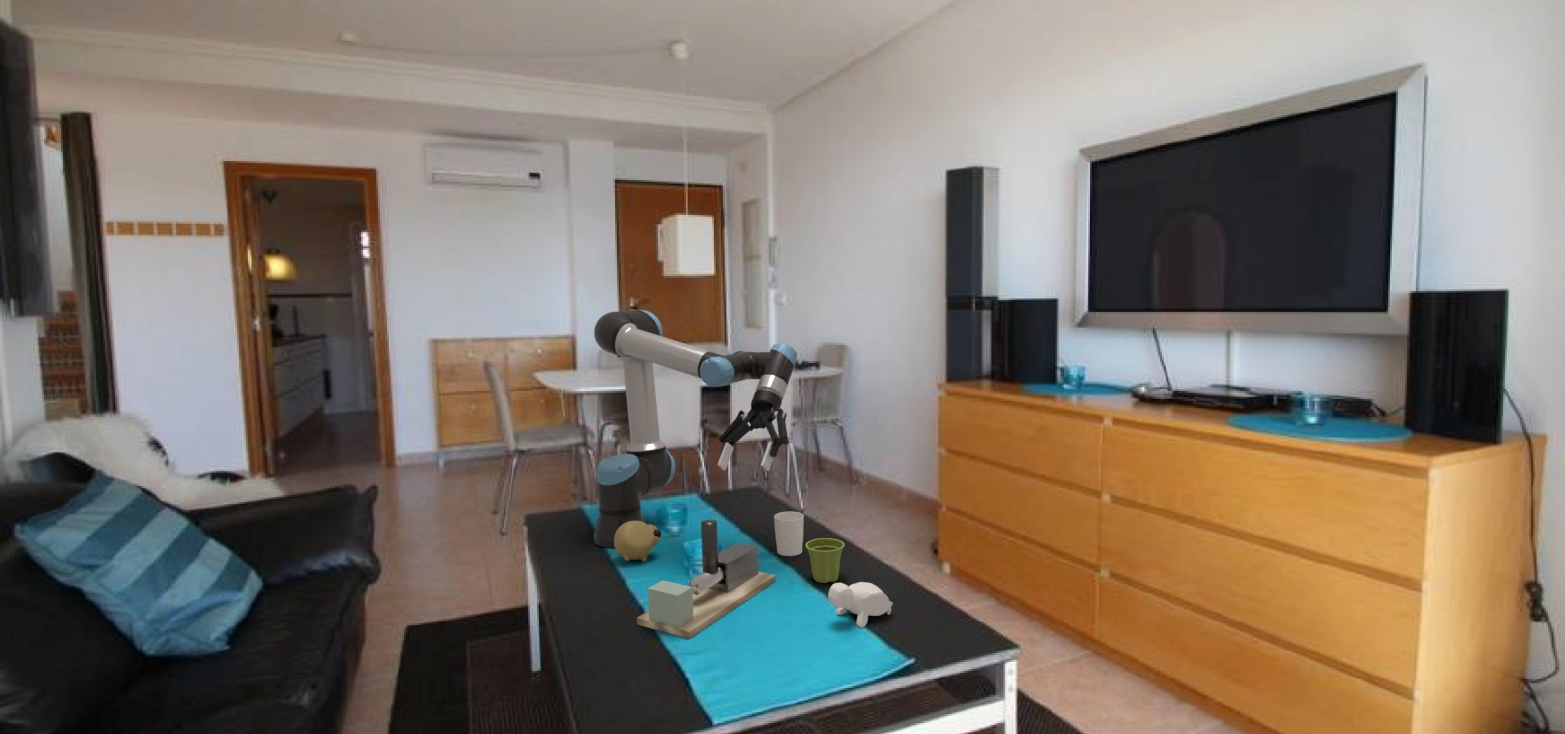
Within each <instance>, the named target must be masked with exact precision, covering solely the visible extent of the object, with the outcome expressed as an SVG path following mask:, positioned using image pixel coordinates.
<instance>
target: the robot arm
mask: <svg viewBox="0 0 1565 734" xmlns="http://www.w3.org/2000/svg"><path fill="white" fill-rule="evenodd" d="M663 333H664V332H663V327H662V324H661V322H660V320H659V318H658V317H657V316H656V315H655V314H654V313H652V312H650V311H649V310H645V309H631V310H622V311H610V312H607V313H605V314H602V316H601V317H599V318H598V320H597V321H596V324H595V326H594V331H593V334H594V335H593V337H594V339H595V342H596V345H598V347H600V349H602V351H605V352H607V353H610V354H611V355H616V356H617V357H616V358H617V359H618V360H619V361H621V362H622V364H623V366H622V367H623V374H624V384H625V386H624V387H625V396H626V405H627V417H628V426H629V436H630V437H629V438H630V444H629V445H628V446H627V447H626V453H621V454H620V453H619V454H617V455H612V456H609V457H606V458H604V459H602V460H601V461H600V462H599V463H598V465H597V468H596V470H597V474H596V481H597V482H596V483H597V497H598V518H597V521H596V525H595V530H594V532H593V542H594V544H595V545H597V546H599V547H602V548H612V549H614V548H615V546H614V537H615V533H616V531H617V529H618V528H619V527H620V526H621V525H622V524H624V523H626V522H629V521H642V522H644V523H646V522H645V519H644V516H643V513H642V509H641V507H642V505H641V504H642V503H641V497H642V496H644V495H648V494H649V493H652V492H655V491H658V490H660V489H662V488H663V487H665V486H667V485H669V483H671V481H672V480H673V478H674V476H675V472H676V462H675V459H674V456H673V455H671V452H670V451H668V450H667V447H666V446H667V445H666V443H664V441H662V440H661V437H660V436H661V435H660V428H659V427H660V426H659V425H660V424H659V416H658V414H659V413H658V406H657V405H658V404H657V394H656V384H655V383H656V382H655V374H654V364H655V365H659V366H661V367H664V368H668V369H671V370H674V371H676V372H679V373H683V374H685V375H689V376H692V377H694V378H698V379H701V381H702V382H703V383H704V384H705V385H706V386H709V387H710V388H711V387H712V388H716V387H718V388H720V387H725V386H727V385H731V384H734V383H739V382H743V381H746V380H758V383H757V385H756V388H755V392H754V394H753V396H752V399H751V402H750V410H749V411H748V412H744V411H743V409H741V410H740V411H738V413H737V416H736V417H735V419H733V421H732V422H731V423H730V425H728V427H727V428H726V429H725V430H724V431H723V433H722V434H721V435H720V437H719V438H718V441H719V442H721V444H723V445H722V446H721V447H722V448H721V449H720V453H719V454H720V457H719V459H718V462H717V466H718V467H719V468H720V469H721V470H722V471H726V470H727V468H728V465H729V462H730V459H731V457H732V454H733V451H734V449H735V447H734V445H736V443H738V442H739V441H740V440H741V439H742V438H743V437H744V436H746V435H747V434H748V433H749V432H753V430H754V429H755V430H758V429H763V430H764V429H766V430H767V432H768V434H769V437H770V439H771V441H769V442H768V444H767V447H766V449H765V452H764V455H763V458H762V461H761V463H760V466H762V468H763V469H764V470H765V471H767V472H768V471H770V469H771V466H772V463H773V460H774V458H776V457H777V455H778V452H779V449H780V447H781V446H782V445H788V444H789V437H788V429H787V424H786V423H787V422H786V420H787V417H788V416H787V415H788V414H787V413H786V412H785V411H784V410H783V409H782V408H781V406H782V404H783V399H784V397H785V395H786V393H787V388H788V385H789V383H790V380H791V377H792V374H793V372H794V369H795V368H796V363H797V359H798V352H797V351H796V349H795V348H794V347H793V346H792V345H790V344H787V343H785V342H777V343H776V344H775V343H774V344H773V345H772V346H771V348H770V350H769V351H743V350H738V351H737V350H736V351H729V352H728V353H727V354H726V355H724V354H723V355H722V354H719V353H717V352H712V351H710V350H708V349H704V348H700V347H697V346H695V345H691V344H688V343H683V342H681V341H677V340H675V339H671V338H668V337H664V336H663ZM775 419H776V425H777V431H776V429H775V426H774V424H773V421H774V420H775Z"/></svg>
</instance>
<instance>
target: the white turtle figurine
mask: <svg viewBox="0 0 1565 734" xmlns="http://www.w3.org/2000/svg"><path fill="white" fill-rule="evenodd" d="M827 599H828V600H829V602H830V603H831V604H833V606H835V607H837V608H836V610H835V614H836V615H838V616H841V615H844V614H845V613H847V612H848V611H850V612H851V613H853V614H854V615H857V617H856V623H855V624H856V626H857V627H858V628H861V629H862V628H865V627H866V625H867V623H868V620H869V616H873V617H876V616H877V617H878V616H879V617H880V616H882V615H884V614H885V613H886V614H887V615H888V616H889V615H891V612H892V607H893V604H894V602H892V601H891V600H890V599H889V597H888V596H887V594H885V593H884V591H883V590H882V589H881V588H879V586H878V585H876V584H873V583H872V582H871V583H870V582H868V581H867V582H864V581H859V582H855V583H852V584H849V586H848V584H845V583H843V582H833V584H832V585H831V586H830V587H829V590H828V593H827Z"/></svg>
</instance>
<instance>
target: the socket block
mask: <svg viewBox="0 0 1565 734" xmlns="http://www.w3.org/2000/svg"><path fill="white" fill-rule="evenodd" d="M647 597H648V598H647V600H648V611H649V620H652V621H656V622H659V623H663V624H667V625H671V626H674V627H678V628H679V627H681V626H683V625H684V624H686V623H687V622H689V621H690V620H692V619H694V618H693V591H692V587H689V586H688V585H684V584H680V583H675V582H672V581H666V580H661V581H659V582H657V583H655V584H654V585H651V586H649V587H648V588H647Z"/></svg>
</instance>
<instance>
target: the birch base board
mask: <svg viewBox="0 0 1565 734" xmlns="http://www.w3.org/2000/svg"><path fill="white" fill-rule="evenodd" d="M775 582H776V575H775V574H771V573H766V572H763V571H762V572H761V571H759V574H757V575H756V576H754V577H753V578H751V579H749V580H748V581H746V582H745V583H743V584H742V585H740V586H738V587H737V588H735V589H734V590H732V591H730V592H729V593H727V592H723V591H718V590H714V589H710V588H708V589H707V590H705V591H703V592H702V593H700V594H698V595H694V594H693V618H694V619H692V620H690V621H689V622H687V623H686V624H684V625H683V626H681V627H679V628H678V627H674V626H671V625H667V624H663V623H659V622H656V621H652V620H649V610H647V611H646V612H644V613H642V614H641V615H639V616H638V617H636V625H637V626H641V627H645V628H649V629H651V630H657V631H659V632H660V631H661V632H663V633H666V632H667V634H671V635H674V636H677V635H678V637H682V638H684V639H685V638H686V639H687V640H688V639H689V640H690V639H691V638H693V637H694V636H696V635H697V634H699V633H701V632H702V631H703V630H705V629H706V628H708V627H709V626H711V625H712V624H714V623H715V622H717V621H718V620H720V619H721V618H723V617H724V616H726V615H728V614H729V613H730V612H732V611H733V610H735V609H736V608H738V607H739V606H741V605H742V604H743V602H744V603H745V602H747V601H748V600H750V599H751V598H752V597H754V596H756V595H757V594H759V593H760V592H762V591H763V590H765V589H766V588H767V586H768V587H769V586H770V585H772V584H773V583H775ZM771 583H772V584H771ZM764 588H765V589H764ZM761 590H762V591H761ZM749 598H750V599H749ZM746 600H747V601H746Z"/></svg>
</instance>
